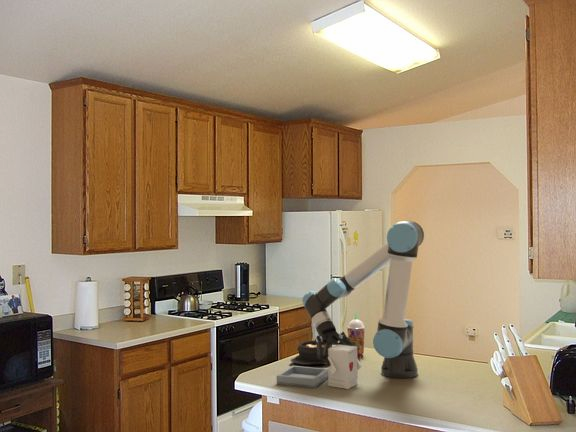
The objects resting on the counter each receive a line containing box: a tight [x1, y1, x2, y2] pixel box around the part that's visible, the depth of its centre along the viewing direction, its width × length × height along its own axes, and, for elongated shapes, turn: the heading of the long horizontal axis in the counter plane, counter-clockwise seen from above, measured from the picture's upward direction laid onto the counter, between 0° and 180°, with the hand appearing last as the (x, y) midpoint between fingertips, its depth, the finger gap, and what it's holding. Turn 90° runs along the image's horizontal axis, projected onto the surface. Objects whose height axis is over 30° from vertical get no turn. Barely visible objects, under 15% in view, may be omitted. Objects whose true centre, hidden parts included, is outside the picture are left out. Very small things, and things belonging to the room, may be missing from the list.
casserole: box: [290, 340, 333, 366], centre depth 271 cm, size 25×19×8 cm
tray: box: [276, 365, 328, 389], centre depth 241 cm, size 16×16×4 cm
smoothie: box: [346, 313, 366, 358], centre depth 282 cm, size 8×8×20 cm
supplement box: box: [327, 344, 359, 390], centre depth 235 cm, size 9×9×15 cm
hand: (347, 370), depth 232 cm, fingers closed on supplement box, 11 cm apart
